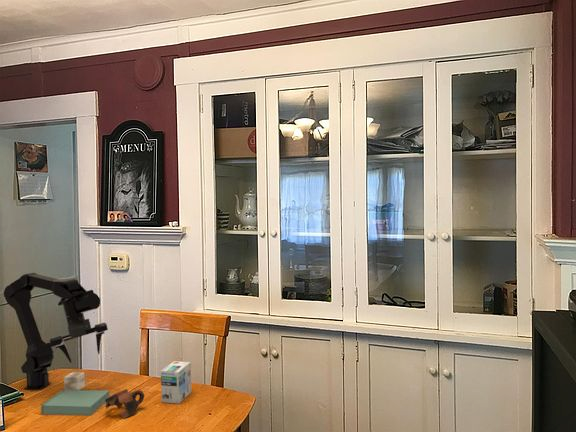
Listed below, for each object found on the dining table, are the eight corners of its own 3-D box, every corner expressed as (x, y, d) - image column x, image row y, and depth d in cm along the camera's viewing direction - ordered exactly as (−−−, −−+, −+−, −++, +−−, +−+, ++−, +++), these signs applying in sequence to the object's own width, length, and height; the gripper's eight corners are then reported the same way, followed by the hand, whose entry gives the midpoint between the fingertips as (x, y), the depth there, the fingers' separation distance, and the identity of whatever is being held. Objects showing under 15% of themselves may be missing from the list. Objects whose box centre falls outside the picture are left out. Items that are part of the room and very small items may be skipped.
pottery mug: (114, 424, 150) (104, 399, 152) (110, 426, 158) (100, 402, 160) (151, 404, 157) (140, 380, 159) (146, 407, 165) (136, 384, 166)
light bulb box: (179, 404, 163) (178, 372, 163) (160, 402, 165) (159, 371, 164) (192, 391, 174) (191, 361, 173) (174, 390, 175) (173, 360, 175)
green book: (41, 415, 157) (41, 405, 157) (63, 398, 170) (63, 389, 170) (90, 416, 156) (90, 406, 156) (109, 399, 169) (109, 390, 169)
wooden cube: (64, 391, 177) (64, 377, 176) (72, 385, 182) (71, 372, 181) (77, 391, 176) (77, 377, 176) (84, 386, 181) (84, 372, 181)
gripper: (43, 323, 162) (54, 370, 161) (102, 307, 169) (113, 351, 168) (46, 322, 172) (57, 366, 171) (102, 307, 180) (112, 348, 179)
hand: (85, 358), depth 172 cm, fingers open, 9 cm apart
